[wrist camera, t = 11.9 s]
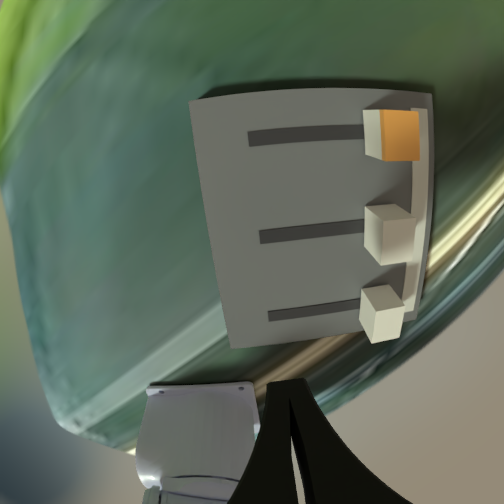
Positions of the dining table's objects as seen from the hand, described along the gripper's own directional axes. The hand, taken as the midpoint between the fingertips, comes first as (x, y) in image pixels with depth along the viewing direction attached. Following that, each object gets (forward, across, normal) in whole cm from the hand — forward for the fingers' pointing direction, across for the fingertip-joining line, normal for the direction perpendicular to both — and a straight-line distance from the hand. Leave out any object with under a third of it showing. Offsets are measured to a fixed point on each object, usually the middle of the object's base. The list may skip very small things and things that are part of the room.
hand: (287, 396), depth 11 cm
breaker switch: (+9, -7, -8) cm, 14 cm away
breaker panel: (+10, -4, -3) cm, 11 cm away
